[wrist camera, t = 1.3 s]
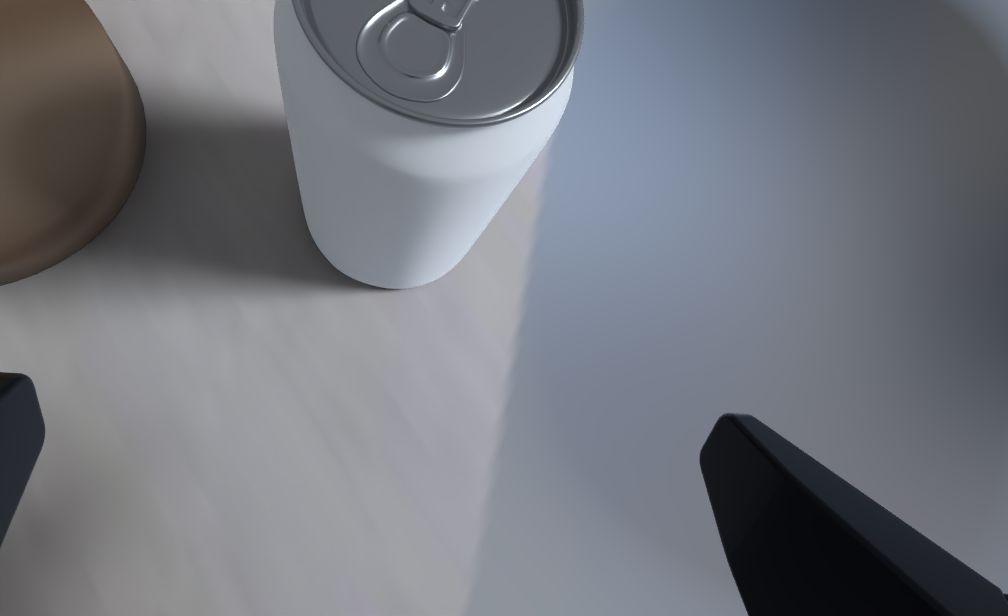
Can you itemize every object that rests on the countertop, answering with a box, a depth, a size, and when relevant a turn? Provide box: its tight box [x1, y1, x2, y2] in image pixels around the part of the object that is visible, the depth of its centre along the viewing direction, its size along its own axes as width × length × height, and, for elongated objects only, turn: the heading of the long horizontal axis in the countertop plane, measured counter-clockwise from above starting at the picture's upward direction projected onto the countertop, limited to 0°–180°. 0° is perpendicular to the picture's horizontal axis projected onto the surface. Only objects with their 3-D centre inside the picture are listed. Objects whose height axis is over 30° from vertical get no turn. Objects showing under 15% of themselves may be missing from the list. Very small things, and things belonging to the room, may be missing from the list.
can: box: [274, 0, 584, 289], centre depth 17 cm, size 6×6×12 cm
